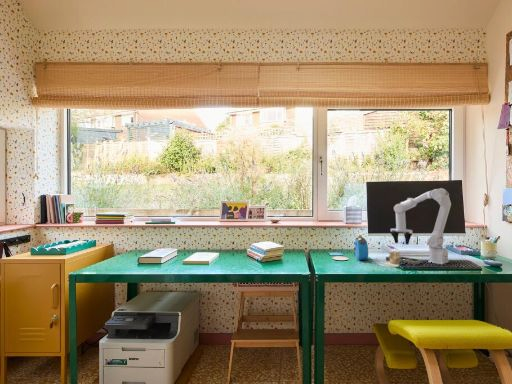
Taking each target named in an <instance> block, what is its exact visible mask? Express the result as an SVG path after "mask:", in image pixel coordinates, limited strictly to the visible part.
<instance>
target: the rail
mask: <svg viewBox="0 0 512 384" xmlns="http://www.w3.org/2000/svg"><path fill="white" fill-rule="evenodd" d="M403 259H405V260H403ZM411 260H413V261H411ZM385 261H388V262H390V255H389V256H385ZM400 261H404V262H408V263H412V264H418V263H421V262H423V263H424V260H423V259H420V258H413V257H407V256H401V255H400ZM418 265H419V264H418Z"/></svg>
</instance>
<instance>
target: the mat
mask: <svg viewBox="0 0 512 384" xmlns="http://www.w3.org/2000/svg"><path fill="white" fill-rule="evenodd" d="M383 265H385V266H390V267H396V268H397V267H400V266H399V265H398V264H396V265H395V264H390V261H388V262H385V263H383Z"/></svg>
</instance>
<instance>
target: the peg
mask: <svg viewBox="0 0 512 384" xmlns="http://www.w3.org/2000/svg"><path fill="white" fill-rule="evenodd" d="M388 254H389V256H390V261H389V262H390V264H395V265H396V264H398V263H399V262H400V256H401V255H400V251H396V250H392V251H389V253H388Z"/></svg>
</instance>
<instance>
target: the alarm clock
mask: <svg viewBox="0 0 512 384" xmlns="http://www.w3.org/2000/svg"><path fill="white" fill-rule="evenodd" d="M354 253H355V258H356V260H358V261H368V258H369V245H368V241H367V239H365V238H364V237H363V236H361V235H358V236H356V237H355V241H354Z"/></svg>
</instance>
